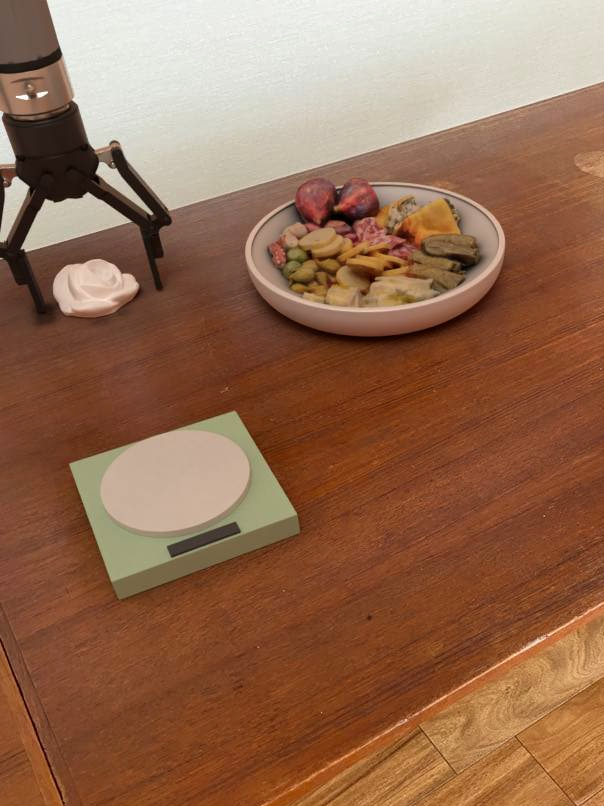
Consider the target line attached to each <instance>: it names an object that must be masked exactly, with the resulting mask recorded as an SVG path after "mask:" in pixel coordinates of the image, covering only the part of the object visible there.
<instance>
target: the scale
mask: <svg viewBox="0 0 604 806" xmlns="http://www.w3.org/2000/svg"><path fill="white" fill-rule="evenodd" d="M68 466H69V468H70V471H71V474H72V477H73V479H74V482H75V485H76V487H77V490H78V493H79V496H80V499H81V501H82V505H83V508H84V510H85V513H86V515H87V519H88V521H89V525H90V527H91V530H92V532H93V535H94V538H95V541H96V544H97V546H98V549H99V552H100V555H101V557H102V560H103V563H104V566H105V569H106V571H107V575H108V577H109V579H110V583H111V585H112V587H113V589H114V592H115V594H116V597H117V599H118V600H119V601H121V600H124V599H127V598H129V597H132V596H135V595H137V594H141V593H142V592H145V591H148V590H151V589H153V588H156V587H159V586H162V585H165V584H167V583H170V582H172V581H175V580H178V579H180V578H184V577H186V576H188V575H191V574H194V573H197V572H199V571H202V570H205V569H207V568H210V567H213V566H215V565H219V564H221V563H223V562H226V561H230V560H232V559H235V558H237V557H240V556H242V555H245V554H248V553H250V552H254V551H257V550H259V549H262V548H265V547H267V546H269V545H270V546H271V545H272V544H275V543H277V542H280V541H283V540H286V539H288V538H291V537H294V536H297V535H299V534H301V528H300V521H299V516H298V515H299V514H298V512H297V510H296V509H295V508H294V506H293V504H292V503H291V501H290V499H289V497H288V496H287V494H286V493H285V491H284V489H283V488H282V486H281V485H280V483H279V481H278V479H277V477H276V475H275V474H274V472H273V471H272V469H271V467H270V466H269V464H268V462H267V460H266V459H265V458H264V456H263V454H262V452H261V451H260V449H259V448H258V446H257V444H256V442H255V441H254V439H253V438H252V436H251V434H250V432H249V431H248V429H247V427H246V425H245V424H244V422H243V421H242V419H241V417H240V416H239V414H238V412H237V411H236V410H233V411H229V412H227V413H223V414H219V415H217V416H214V417H211V418H208V419H204V420H202V421H198V422H195V423H192V424H189V425H186V426H182V427H179V428H176V429H173V430H170V431H166V432H164V433H160V434H157V435H154V436H153V435H152V436H151V437H148V438H144V439H141V440H139V441H136V442H133V443H132V442H131V443H129V444H126V445H123V446H120V447H116V448H113V449H110V450H107V451H104V452H100V453H98V454H95V455H91V456H88V457H84V458H81V459H79V460H76V461H72V462H70V463H69V464H68Z"/></svg>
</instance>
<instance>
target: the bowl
mask: <svg viewBox="0 0 604 806" xmlns="http://www.w3.org/2000/svg"><path fill="white" fill-rule="evenodd" d="M505 250H506V237H505V232H504V229H503V227H502V225H501V224H500V222H499V221H498V219H497V218H496V217H495V216H494V215H493V214H492V213H491V212H490V211H489V210H488V209H487V208H485V206H482V205H481V204H479V203H478V202H476V201H474V200H472V199H470V198H469V197H466V196H464V195H462V194H459V193H457V192H454V191H451V190H447V189H444V188H441V187H436V186H431V185H427V184H420V183H411V182H399V181H373V182H372V181H371V182H369V181H368V180H366V179H364V178H361V177H352V178H350V179H349V180H347V181H346V182H345V183H344V184H342V185H337V186H336V185H335V184H334V183H332V182H331V181H330V180H329V179H325V178H321V177H316V178H312V179H310V180H306V182H304V183H302V184H301V185H300V186H299V187H298V188H297V190H296V194H295V197H294V199H292V200H289V201H287V202H285V203H283V204H282V205H280V206H278V207H276V208H275V209H273V210H272V211H271V212H269V213H268V214H266V215H265V216H264V217H262V218H261V220H259V222H257V224H256V225H255V226H254V227H253V229H252V230H251V232H250V233H249V235H248V237H247V240H246V243H245V249H244V256H245V262H246V269H247V271H248V274H249V277H250V279H251V282H252V284H253V285H254V287H255V289H256V291H257V292H258V293H259V294H260V296H261V297H262V298H263V299H264V301H265V302H267V303H268V304H269V305H270V306H271V307H272V308H273V309H275V310H276V311H277V312H278V313H280V314H282V315H283V316H285V317H287V318H288V319H290V320H292V321H294V322H296V323H298V324H300V325H303V326H306V327H308V328H311V329H313V330H317V331H321V332H325V333H330V334H335V335H341V336H342V335H343V336H350V337H351V336H352V337H387V336H388V337H389V336H397V335H403V334H410V333H414V332H418V331H422V330H426V329H429V328H432V327H435V326H438V325H441V324H444V323H446V322H448V321H450V320H452V319H455V318H456V317H458V316H460V315H462V314H463V313H465V312H467V311H468V310H469V309H471V308H472V307H473V306H475V305H476V304H478V302H480V300H482V299H483V298H484V297H485V296H486V294H487V293H488V292H489V291H490V290H491V288H492V287H493V286H494V284H495V282H496V281H497V279H498V277H499V275H500V273H501V271H502V267H503V264H504V259H505V254H506V253H505Z"/></svg>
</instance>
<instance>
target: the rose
mask: <svg viewBox="0 0 604 806" xmlns="http://www.w3.org/2000/svg"><path fill="white" fill-rule="evenodd" d="M139 289H140V284H139V282H137V280H136V277H135V276H134V275H132V274H131V273H122V272H121V270H120V268H118V267H117V265H115V264H114V263H111V262H108V261H107V260H104V259H101V258H94V259H91V260H88V261H85V262H84V263H75V264H67V265H65V266H64V267H62V268H61V270H60V271H59V272H58V273H57V274H56V275H55V277H54V280H53V283H52V294H53V298H54V299H55V301H56V302H57V303H58V306H59V309H60V311H61V312H62V314H63V315H65V316H68V317H69V316H71V317H78V318H79V317H80V318H97V317H98V318H99V317H104V316H107V315H112V314H114V313H115V312H117V311H118V310H119V309H120V308H122V307H123V306H124V305H126V304H127V303H129V302H130V301H133V300H134V297H136V295H137V293H138V292H139Z"/></svg>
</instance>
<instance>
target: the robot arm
mask: <svg viewBox="0 0 604 806" xmlns="http://www.w3.org/2000/svg"><path fill="white" fill-rule="evenodd" d="M74 90H75V89H74V87H73V84H72V81H71V77H70V74H69V70H68V67H67V64H66V60H65V57H64V54H63V51H62V49H61V46H60V42H59V39H58V36H57V31H56V28H55V24H54V22H53V17H52V14H51V11H50V7H49V3H48V0H0V112H2V115H1V122H2V125H3V127H4V129H5V132H6V135H7V138H8V142H9V144H10V146H11V149H12V152H13V154H14V157H15V161H14V163H3V164H0V232H1V230H2V224H3V223H2V222H3V216H4V208H5V200H6V189H7V188H10V187H11V186H12V183H13V179H14V178H18V179H19V180H20V182H22V183H24V184H25V185H26V186H27V187H28V188H27V191H26V195H25V198H24V200H23V201H22V205H21V207H20V209H19V211H18V213H17V215H16V218H15V219H14V221H13V224H12V226H11V228H10V229H9V233H8V235H7V237H6V239H5V240H4V241H2V242H1V241H0V259H2V260H4V261H6V263H7V265H8V267H9V270H10V272H11V274H12V277H13V279H14V282H15V283H16V285H17V286H18V287H20V286H25V285H27V288H28V291H29V293H30V296H31V298H32V300H33V303H34V305H35V308H36V310H37V313H38V314H41V313H45V312H46V308H45V307H46V306H45V299H44V296H43V294H42V291H41V289H40V286H39V283H38V281H37V278H36V276H35V273H34V271H33V268H32V265H31V263H30V260H29V258H28V254H27V252H26V250H25V248H22V247H23V245H24V243H25V241H26V239H27V236H28V234H29V232H30V230H31V228H32V226H33V225H34V222H35V220H36V218H37V216H38V214H39V212H40V211H41V209H42V207H43V205H44V203H45V201H46V200H47V201H50V202H53V204H55V203H56V204H57V203H61V202H63V201H66V200H69V199H70V200H78V199H83V198H84V196H86V195H87V194H90V195H91V196H93V197H94V198H96V199H97V200H99V201H102V202H104V203H105V204H107V205H108V206H110V207H111V208H112V209H113V210H115V211H116V212H118V213H119V214H121V215H122V216H124V217H125V218H126V219H128V220H129V221H130V222H132V223H134V224H135V225H136V226H137V227H138V228H139V232H140V235H141V238H142V242H143V246H144V251H145V253H146V256H147V260H148V264H149V268H150V271H151V275H152V278H153V282H154V286H155V289H156V290H160V289H163V287H164V286H163V284H162V280H161V277H160V273H159V268H158V265H157V262H156V260H159V259H163V258H164V254H165V253H164V249H163V244H162V239H161V237H160V230H161V229H162V228H163V227H169V226H171V225H172V224H173V219H172V216H171V213H170V210H169V208H168V207H167V205H165V203H164V202H163V201H162V200H161V199H160V197H159V196H158V195H157V194H156V192H154V191H153V189H152V188H151V187H150V186H149V184H148V183H147V182H146V181H145V179H144V178H142V176H141V175H140V174H139V172H138V171H137V170H136V169H135V168H134V167H133V166H132V163H130V162H129V160H127V158H126V155H125V152H124V150H123V147H122V145H121V143H120V142H119V141H118V140H116V139H112V140H111V141H110V142H109V143H108V145H107V146H104V147H100V148H97V149H95V148H94V147H93V146H92V145H91V143H90V141H89V138H88V135H87V131H86V128H85V125H84V121H83V118H82V114H81V111H80V107H79V105H78V104H77V103H76V102H75V101H74V100H73V99H74V98H75V91H74ZM100 163H103V164H106V166H107V167H108V168H109V169H111V170H117V172H118V174H119V175H120V177H121V178H122V179H123V181H124V182H125V183H126V184H127V185H128V187H130V189H131V190H132V191H133V192H134V194H135V195H136V196H137V197H138V198H139V199H140V200H141V201H142V202H143V203H144V205H145V206H146V208H148V209H149V210H150V211H151V213H152V214H150V213H149V212H148V211H146V209H143V208H142V207H141V206H139V205H138V204H137V203H135V202H134V201H133V200H131V199H130V198H129V197H127V196H126V195H124V194H123V193H122V192H120V191H119V190H118V189H116V188H115V187H114V186H112V185H110V184H109V183H108V182H107V181H106V180H105V179H104V178H103V177H102V176H100V175H99V174H98V173H97V171H98V168H99V166H100Z"/></svg>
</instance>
